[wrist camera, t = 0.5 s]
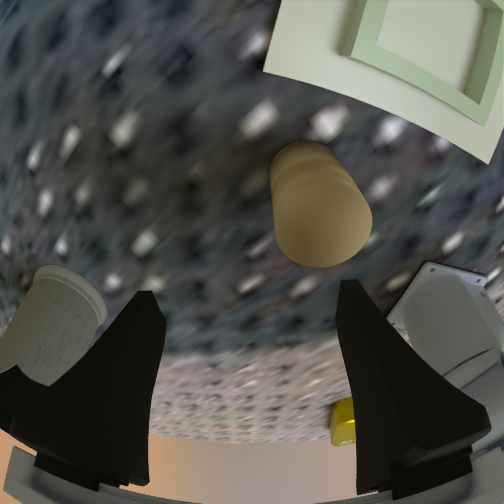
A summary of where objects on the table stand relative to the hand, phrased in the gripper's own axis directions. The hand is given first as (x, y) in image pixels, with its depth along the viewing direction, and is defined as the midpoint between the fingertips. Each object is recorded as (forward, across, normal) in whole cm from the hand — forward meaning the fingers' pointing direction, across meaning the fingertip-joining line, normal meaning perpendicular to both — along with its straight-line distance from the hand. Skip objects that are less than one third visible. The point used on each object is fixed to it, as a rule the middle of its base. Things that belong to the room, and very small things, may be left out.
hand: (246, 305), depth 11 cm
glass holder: (+9, +17, +11) cm, 23 cm away
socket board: (+9, -11, -11) cm, 18 cm away
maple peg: (+9, -3, -1) cm, 10 cm away
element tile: (+10, -17, +39) cm, 44 cm away
